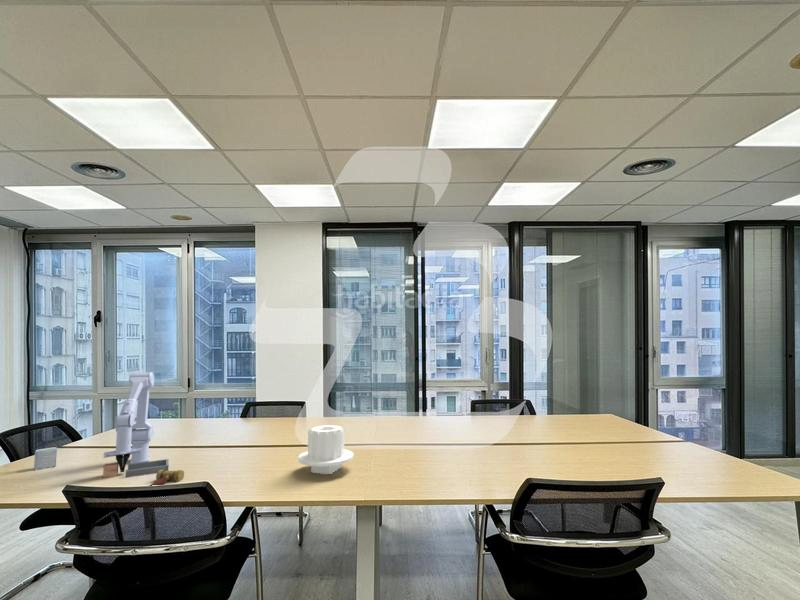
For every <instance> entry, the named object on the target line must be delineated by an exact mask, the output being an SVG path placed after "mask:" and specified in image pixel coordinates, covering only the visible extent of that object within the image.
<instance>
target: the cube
mask: <svg viewBox="0 0 800 600" xmlns="http://www.w3.org/2000/svg"><path fill="white" fill-rule="evenodd" d="M102 473H103V474H102V479H107V478H108V479H109V478H114V477H117V476H118V474H119V464H118V462H117V461H116V462H106V463H104V466H103V470H102Z"/></svg>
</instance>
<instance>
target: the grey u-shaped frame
mask: <svg viewBox="0 0 800 600" xmlns="http://www.w3.org/2000/svg"><path fill="white" fill-rule="evenodd" d="M169 465H170V463H169V458H166V459H164V458H163V459H159V460H158V459H157V460H149V461H146V462H138V463H128V464H127V470H126V471H125V478H129V477H135V476H143V475H150V474H157V473H158V471H159V470H166V471H169Z"/></svg>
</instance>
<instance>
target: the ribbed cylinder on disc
mask: <svg viewBox="0 0 800 600" xmlns="http://www.w3.org/2000/svg"><path fill="white" fill-rule="evenodd" d="M297 459H298V463H300V464H302V465H304V466H310V467H311V473H312V474H313V473H314V474H319V473H320V474H319V475H327V474H331V475H333V474H334V473H335V471H336V472H337V471H339V470H340V469H341V465H342V464H347V463H349V462H350V461H352V460H353V459H354V452H353V451H351V450H349V449H345V428H344V427H342V426H341V425H333V424H332V425H331V424H326V425H324V424H323V425H317V426H314V427H313V426H312V427H311V428H310V429H308V431H307V451H304V452H301V453H300V454H299V455H298V457H297ZM338 469H339V470H338ZM333 472H334V473H333Z"/></svg>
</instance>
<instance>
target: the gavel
mask: <svg viewBox="0 0 800 600" xmlns="http://www.w3.org/2000/svg"><path fill="white" fill-rule="evenodd" d="M184 477H185V472H184V470H183V469H177V470H168V471H166V470H159V471H158V473H156V476H155V479H156V481H154V482H153V483H151V484H150V485H149V486H152V485H161V486H162V485H165V483H166V482H171V481H174V482H182V481H183V480H184Z"/></svg>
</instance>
